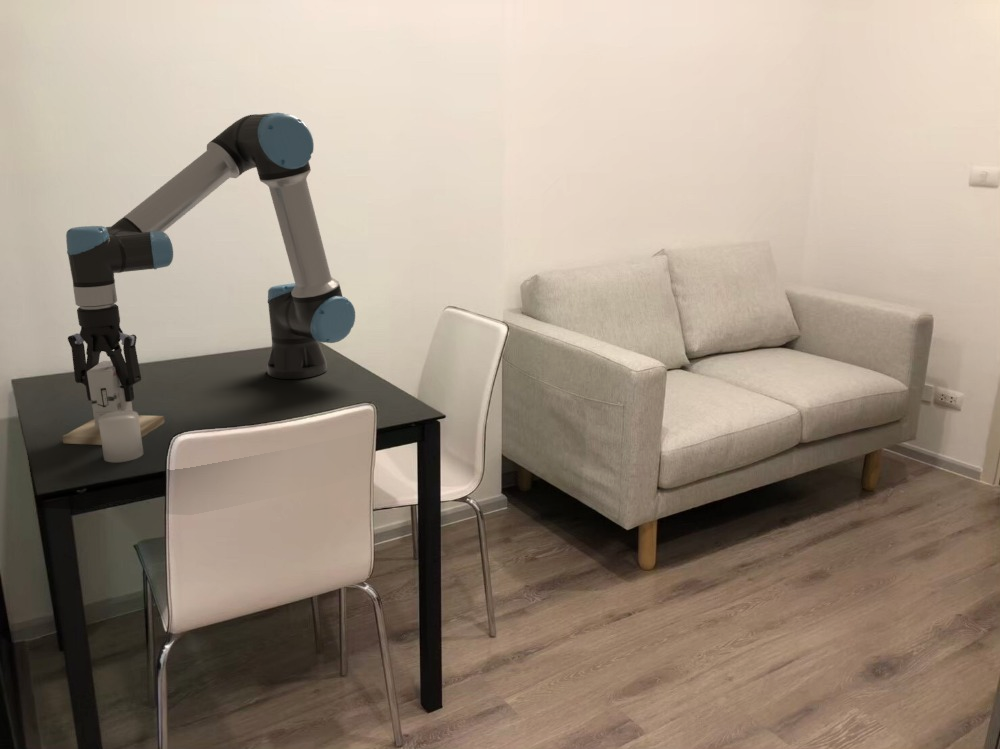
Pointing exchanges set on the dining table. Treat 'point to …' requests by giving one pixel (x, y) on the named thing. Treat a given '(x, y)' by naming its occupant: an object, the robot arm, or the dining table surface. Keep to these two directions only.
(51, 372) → the dining table surface
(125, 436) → the white frosted cylinder
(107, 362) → the ink box
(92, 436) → the birch board
